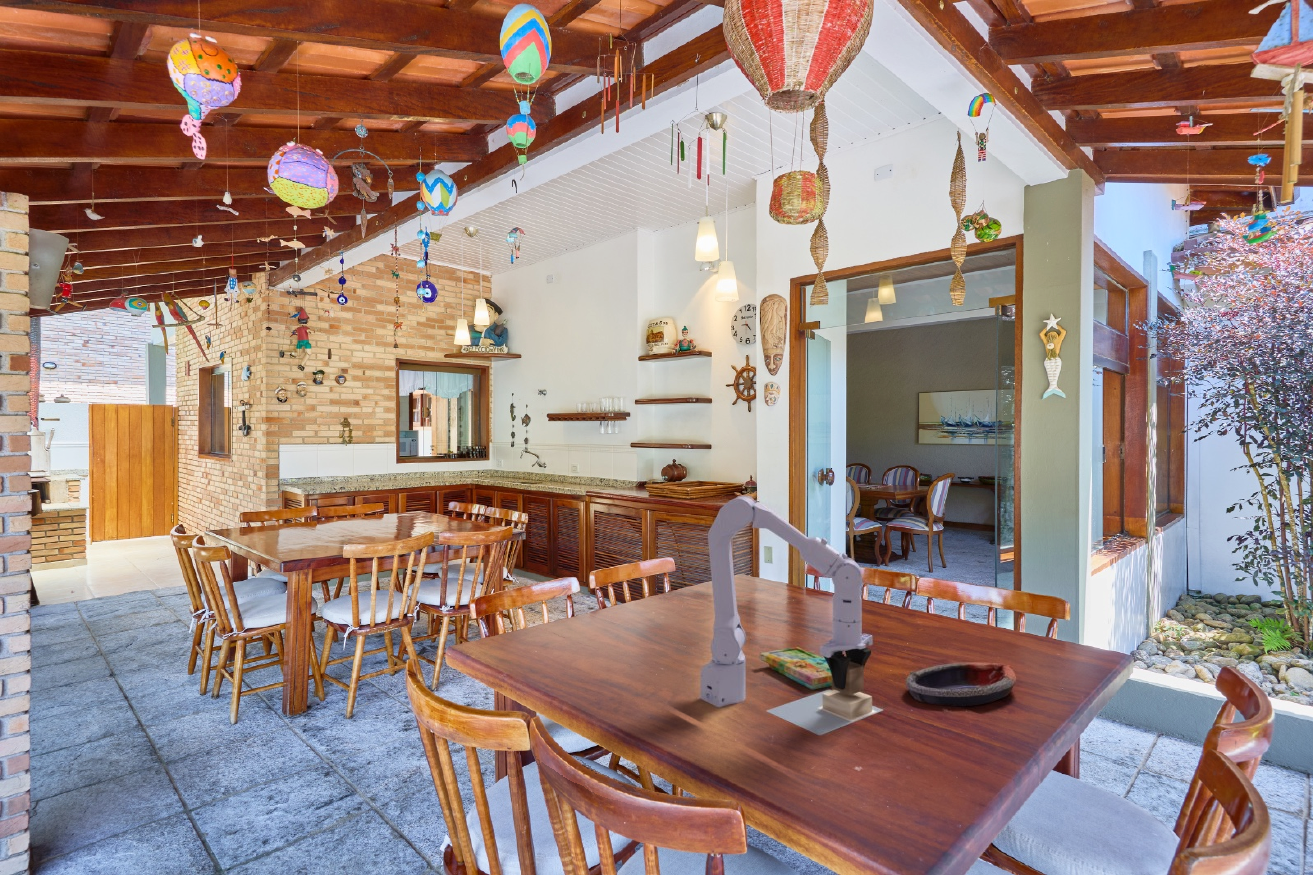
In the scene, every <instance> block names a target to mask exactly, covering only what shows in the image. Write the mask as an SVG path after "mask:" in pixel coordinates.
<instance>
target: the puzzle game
mask: <svg viewBox="0 0 1313 875" xmlns="http://www.w3.org/2000/svg"><path fill="white" fill-rule="evenodd" d="M759 659H760V660H761V661H762V662H764V663H766V664H768V666H769V668H770V670H773V671H775V672H777V673H779V674H780V675H782V676H785V677H786V678H789V679H791V680H792V681H795V682H796V683H798V684H800V685H802V686H803V687H806V688H808V689H810V690H818V689H823V688H827V687H832V674H831V671H830V668H829V666H828V664H827V662H826V660H825V658H824V657H823V656H821V655H817V654H816V653H813V652H810V651H808V650H806V649H803V648H801V647H799V646H796V647H790V648H789V647H788V648H783V649H777V650H770V651H765V652H760V653H759Z"/></svg>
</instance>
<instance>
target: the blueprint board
mask: <svg viewBox="0 0 1313 875" xmlns="http://www.w3.org/2000/svg"><path fill="white" fill-rule="evenodd" d="M832 690H833V689H832ZM832 690H831V689H826V690H823V691H820V692H816V693H814V694H812V695H808V696H805V697H803V698H800V699H797V700H793V701H791V702H787V703H785V704H782V705H779V706H776V707H773V708H770V709H767V710H765V712H766V713H768V714H771V715H772V716H775V717H778V718H780V719H782V720H784V721H787V722H789V723H792V725H796V726H797V727H800V728H802V729H804V730H807V731H808V732H811V733H813V734H815V735H818V736H823V735H825V734H828V733H830V732H832V731H835V730H838V729H839V728H842V727H845V726H847V725H850V724H853V723H855V722H858V721H860V720H862V719H866V718H868V717H870V716H873V715H875V714H878V713H881V712H883V711H884V709H882V708H879V707H877V706H875V705H872V711H871V712H869V713H866V714H864V715H861V716H859V717H856V718H854V719H851V720H850V719H848V718H845V717H843V716H840V715H838V714H835V713H833V712H831V711H828V710H826V709H823V708H822V694H823V693H826V692H829V691H832Z"/></svg>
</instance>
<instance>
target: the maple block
mask: <svg viewBox="0 0 1313 875" xmlns="http://www.w3.org/2000/svg"><path fill="white" fill-rule="evenodd" d="M872 706H873V696H872V695H869V694H868V693H867V694H866V693H863V692H862V691H860V692H858V693H855V694H852V695H847V694H845V693H842V692H839V691H837V690H834V689H832V691H829V692H826V693H823V694H822V708H823V709H826V710H828V711H831V712H833V713H835V714H838V715H840V716H843V717H845V718H848V719H850V720H851V719H854V718H856V717H859V716H861V715H864V714H866V713H869V712H871V711H872Z"/></svg>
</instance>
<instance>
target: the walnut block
mask: <svg viewBox="0 0 1313 875" xmlns="http://www.w3.org/2000/svg"><path fill="white" fill-rule="evenodd" d="M864 669H865V667H863V666H862V665H859V664H856V663H853V662H849V665H848V669H847V674H846V684H845V688H844V689H843V690H842V689H839V688H836V687H835V686H834V682H833V678H832V686H831V689H832V690H837V691H839V692H842V693H845V694H847V695H852V694H855V693H858V692H863V691H864V690H865V689H864V685H865V684H864V680H865V679H864V672H865V671H864Z"/></svg>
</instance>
